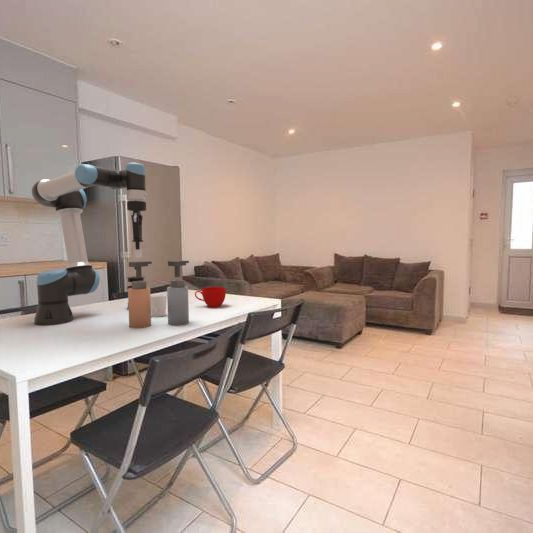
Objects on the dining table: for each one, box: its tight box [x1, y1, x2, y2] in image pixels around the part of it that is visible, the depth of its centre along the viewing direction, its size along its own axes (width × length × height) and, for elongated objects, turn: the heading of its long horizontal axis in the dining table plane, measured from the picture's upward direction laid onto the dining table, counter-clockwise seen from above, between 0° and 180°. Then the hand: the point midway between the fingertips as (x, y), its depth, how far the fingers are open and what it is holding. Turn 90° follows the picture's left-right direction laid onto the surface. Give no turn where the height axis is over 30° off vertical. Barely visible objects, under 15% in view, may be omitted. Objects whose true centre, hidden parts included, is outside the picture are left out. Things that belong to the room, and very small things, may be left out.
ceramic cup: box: [194, 286, 227, 308], centre depth 197 cm, size 13×17×10 cm
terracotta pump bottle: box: [127, 280, 152, 329], centre depth 153 cm, size 9×9×19 cm
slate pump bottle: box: [166, 279, 190, 326], centre depth 158 cm, size 9×9×19 cm
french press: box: [126, 267, 146, 311], centre depth 192 cm, size 12×9×23 cm
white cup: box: [150, 293, 167, 318], centre depth 174 cm, size 8×8×10 cm
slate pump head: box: [167, 260, 190, 278], centre depth 158 cm, size 10×4×7 cm, turn 147°
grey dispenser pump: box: [128, 260, 153, 278], centre depth 154 cm, size 10×4×7 cm, turn 147°
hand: (138, 257), depth 152 cm, fingers closed
